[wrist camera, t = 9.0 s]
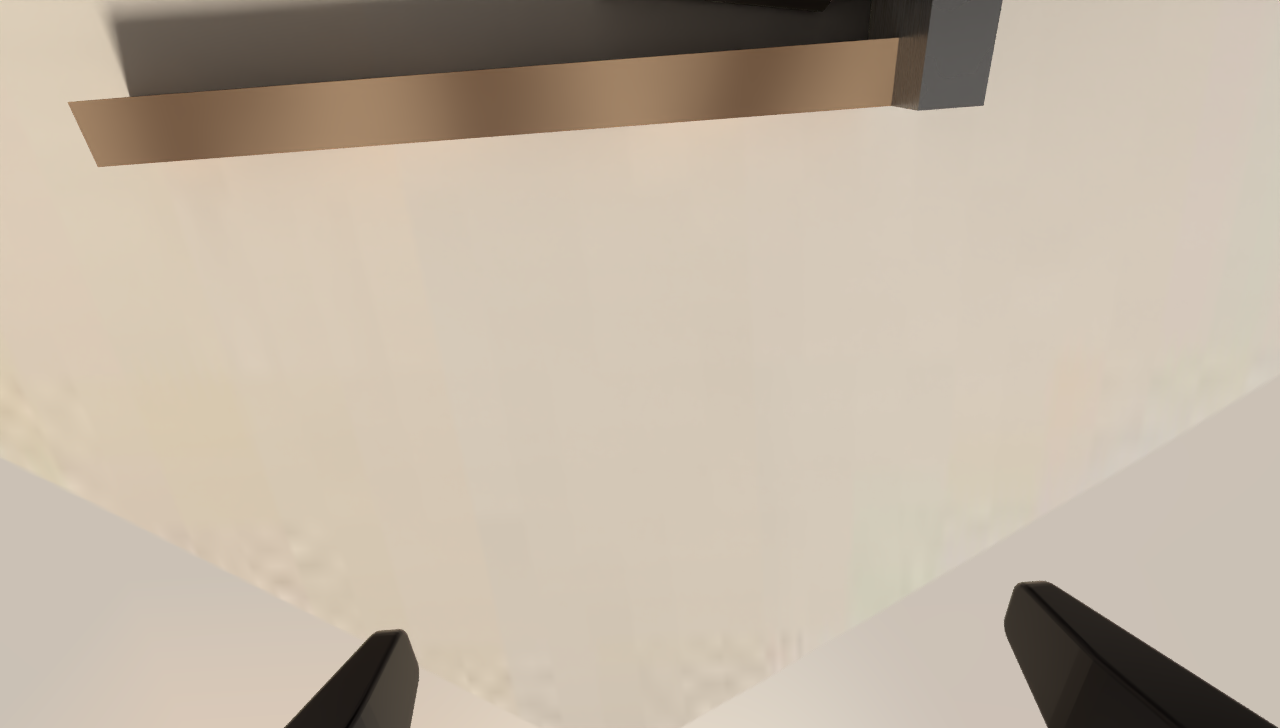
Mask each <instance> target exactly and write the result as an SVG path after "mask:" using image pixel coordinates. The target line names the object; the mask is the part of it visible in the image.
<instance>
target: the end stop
mask: <svg viewBox="0 0 1280 728" xmlns="http://www.w3.org/2000/svg"><path fill="white" fill-rule="evenodd" d="M1001 5H1002V0H872V1H871V12H870V23H869V33H868V40H871V39H887V38H899V42H898V50H897V59H896V68H895V76H894V85H893V94H892V102H891V106H895V107H901V108H906V109H912V110H917V111H919V110H932V109H945V108H957V107H970V106H983V105H984V99H985V94H986V88H987V83H988V77H989V72H990V66H991V61H992V55H993V50H994V44H995V39H996V33H997V28H998V22H999V16H1000V11H1001Z"/></svg>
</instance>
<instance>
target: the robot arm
mask: <svg viewBox="0 0 1280 728" xmlns="http://www.w3.org/2000/svg"><path fill="white" fill-rule="evenodd" d="M1004 627H1005V632H1006V636H1007V639H1008V641H1009V643H1010V645H1011V648H1012V650H1013V652H1014V654H1015V657H1016V659H1017V661H1018V663H1019V665H1020V668H1021V670H1022V672H1023V674H1024V676H1025V679H1026V681H1027V683H1028V685H1029V687H1030V690H1031V692H1032V694H1033V696H1034V699H1035V701H1036V703H1037V705H1038V707H1039V709H1040V712H1041V714H1042V716H1043V718H1044V720H1045V723H1046V725H1047V727H1048V728H1278V727H1276V726H1275V725H1273V724H1272V723H1269V722H1268V721H1267V720H1265V719H1264V718H1262V717H1260V716H1259V715H1257V714H1256V713H1254V712H1253V711H1251V710H1249V709H1248V708H1246V707H1245V706H1243V705H1242V704H1240V703H1239V702H1237V701H1236V700H1234V699H1232V698H1231V697H1229V696H1228V695H1226V694H1225V693H1223V692H1221V691H1220V690H1218V689H1217V688H1215V687H1213V686H1212V685H1210V684H1209V683H1207V682H1206V681H1204V680H1203V679H1201V678H1199V677H1198V676H1196V675H1195V674H1193V673H1192V672H1190V671H1189V670H1187V669H1185V668H1184V667H1182V666H1181V665H1179V664H1178V663H1176V662H1174V661H1173V660H1171V659H1170V658H1168V657H1166V656H1165V655H1163V654H1162V653H1160V652H1159V651H1157V650H1156V649H1154V648H1152V647H1151V646H1149V645H1148V644H1146V643H1145V642H1143V641H1141V640H1140V639H1138V638H1137V637H1135V636H1134V635H1132V634H1130V633H1129V632H1127V631H1126V630H1124V629H1123V628H1121V627H1119V626H1118V625H1116V624H1115V623H1113V622H1112V621H1110V620H1109V619H1107V618H1105V617H1104V616H1102V615H1101V614H1099V613H1098V612H1096V611H1094V610H1093V609H1091V608H1090V607H1088V606H1087V605H1085V604H1083V603H1082V602H1080V601H1079V600H1077V599H1075V598H1074V597H1072V596H1071V595H1069V594H1068V593H1066V592H1065V591H1063V590H1061V589H1060V588H1058V587H1057V586H1055V585H1053V584H1052V583H1049V582H1046V581H1032V582H1021V583H1018V584H1017V585H1016V586H1015V587H1014V590H1013V593H1012V596H1011V599H1010V602H1009V605H1008V609H1007V612H1006V615H1005V619H1004ZM418 681H419V667H418V662H417V660H416V657H415V654H414V651H413V649H412V646H411V643H410V641H409V638H408V635H407V633H406V632H405V631H404V630H402V629H395V630H382V631H377V632H375V633H374V634H372V635H371V636H370V637H369V638H368V639H367V640H366V641H365V642H364V643H363V644H362V646H361V647H360V648H359V649H358V650H357V651H356V652H355V653H354V654H353V655H352V656H351V657H350V658H349V660H347V661H346V663H345V664H344V665H343V666H342V667H341V668H340V669H339V670H338V671H337V672H336V673H335V674H334V675H333V676H332V677H331V679H330V680H329V681H328V682H327V683H326V684H325V685H324V686H323V687H322V688H321V689H320V690H319V691H318V692H317V693H316V695H315V696H314V697H313V698H312V699H311V700H310V701H309V702H308V703H307V704H306V705H305V706H304V707H303V708H302V709H301V710H300V712H299V713H298V714H297V715H296V716H295V717H294V718H293V719H292V720H291V721H290V722H289V723H288V725H286V726H285V727H284V728H410V726H411V720H412V715H413V709H414V703H415V698H416V693H417V687H418Z"/></svg>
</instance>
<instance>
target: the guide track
mask: <svg viewBox="0 0 1280 728" xmlns="http://www.w3.org/2000/svg"><path fill="white" fill-rule="evenodd" d="M898 42H899V38H887V39H871V40H858V41H845V42H832V43H819V44H806V45H793V46H781V47H768V48H755V49H742V50H729V51H716V52H703V53H690V54H677V55H665V56H652V57H639V58H626V59H613V60H600V61H587V62H574V63H562V64H549V65H536V66H523V67H510V68H497V69H484V70H471V71H459V72H446V73H433V74H420V75H407V76H394V77H381V78H368V79H355V80H343V81H330V82H317V83H304V84H291V85H278V86H265V87H252V88H240V89H227V90H214V91H201V92H188V93H175V94H162V95H149V96H137V97H124V98H112V99H100V100H88V101H76V102H68V104H69V106H70V108H71V110H72V113H73V115H74V117H75V119H76V121H77V123H78V125H79V127H80V130H81V132H82V134H83V136H84V138H85V140H86V142H87V144H88V147H89V149H90V151H91V153H92V155H93V157H94V159H95V161H96V164H97V166H98V167H105V166H118V165H131V164H143V163H156V162H169V161H182V160H195V159H208V158H221V157H234V156H247V155H260V154H273V153H286V152H299V151H312V150H325V149H337V148H350V147H363V146H376V145H389V144H402V143H415V142H428V141H441V140H454V139H467V138H480V137H493V136H506V135H519V134H532V133H544V132H557V131H570V130H583V129H596V128H609V127H622V126H635V125H648V124H661V123H674V122H687V121H700V120H713V119H726V118H738V117H751V116H764V115H777V114H790V113H803V112H816V111H829V110H842V109H855V108H868V107H881V106H891V102H892V94H893V85H894V76H895V68H896V59H897V50H898Z"/></svg>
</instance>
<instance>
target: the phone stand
mask: <svg viewBox="0 0 1280 728" xmlns="http://www.w3.org/2000/svg"><path fill="white" fill-rule="evenodd" d="M707 1H717V2H727V3H737V4H748V5H758V6H768V7H778V8H788V9H798V10H809V11H819V12H822V11H823V10H824V9H825V8H826V7H827V5H828V4H829V3H830V2H831V0H707Z"/></svg>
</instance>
